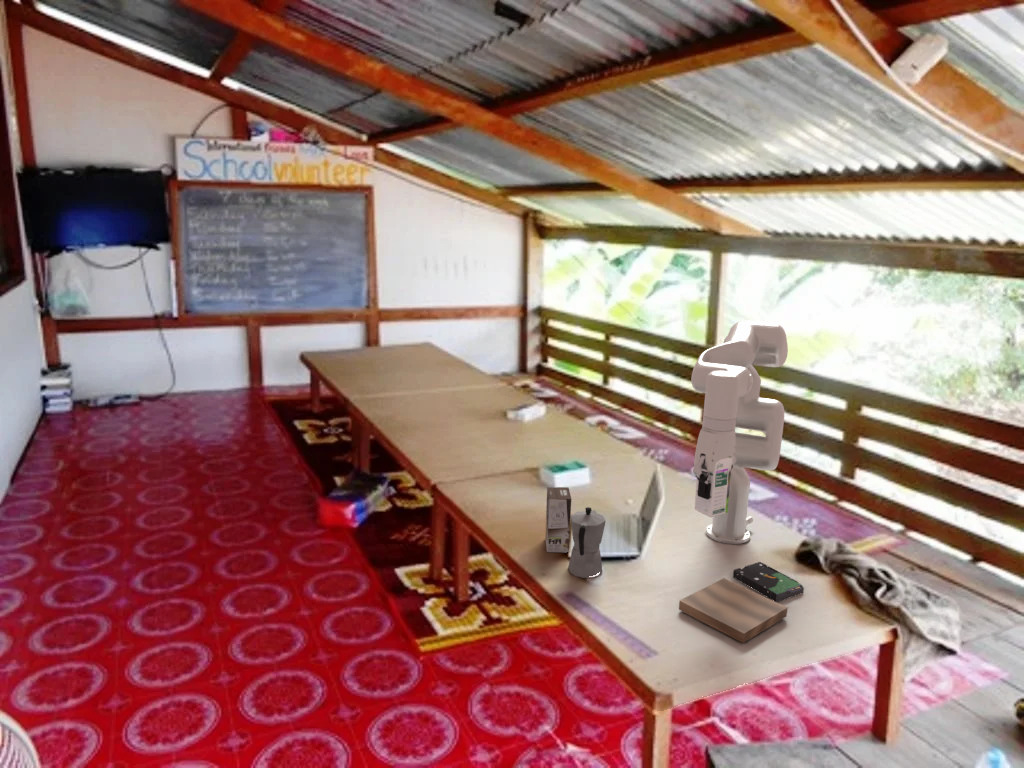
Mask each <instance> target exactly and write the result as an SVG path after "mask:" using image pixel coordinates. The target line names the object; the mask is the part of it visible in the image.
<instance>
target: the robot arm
mask: <svg viewBox="0 0 1024 768" xmlns="http://www.w3.org/2000/svg"><path fill="white" fill-rule="evenodd" d="M788 348H789V347H788V339H787V334H786V331H785V328H783V326H781V325H780V324H778V323H774V322H765V321H754V320H753V321H752V320H743V321H738V322H736V323H734V324H733V325H732V326H731V328H729V332H728V334H727V336H725V338H724V340H723V343H721V344H719V345H715V346H713V347H710V348H708V349H706V350H704V351H703V352H702V353H701V354H700V355H699V356H698V358H697V360H696V362H695V365H694V367H693V370H692V372H691V385H692V389H693V390H695V391H696V392H699V393H702V394H704V404H703V405H704V406H703V414H702V415H703V416H702V427H701V428H700V431H699V434H698V438H697V441H696V447H695V452H694V454H695V455H694V463H693V464H694V465H693V466H694V467H693V469H692V473H693V474H694V476H695V477H696V481H697V480H698V481H699V483H698V496H699V497H702V498H704V499H709V498H710V490H711V484H710V483H709V482H710V479H711V474H712V472H714V468H715V464H716V462H718V461H719V460H721V459H724V458H727V457H730V456H731V457H732V466H731V478H730V490H729V502H728V513H725V514H721V515H717V516H713V517H712V523H711V524H709V525H707V526H706V529H705V533H706V535H707V537H709V538H710V539H712V540H714V541H716V542H719V543H722V544H729V545H741V544H744V543H747V542H749V541H750V540H751V533H750V531H749V530H748V529H747V526H748V525H750V524H752V523H753V522H754V519H753V518H752V516H748V517H747V515H748V507H749V498H750V488H751V480H750V476H749V474H748V473H747V471H746V469H752V470H753V469H754V470H759V471H767V472H771V471H774V470H776V468H777V467H778V465H779V461H780V456H781V450H782V449H781V447H782V440H783V433H784V423H785V407H784V405H783V403H782V402H781V401H780V400H777V399H774V398H773V399H772V398H767V397H766V398H765V397H761V396H760V393H761V385H762V379H761V377H760V375H759V373H758V371H757V370H756V368H755V367H754V366H758V367H769V368H779V367H783V366H784V364H785V363H786V361H787V357H788V353H789V352H788V351H789V349H788ZM736 428H738V429H743V430H744V429H745V430H750V431H758V432H762V433H764V434H765V436H763V435H762V436H761V435H755V434H750V433H743V432H736ZM704 466H705V467H707V470H706V469H704ZM704 472H707V476H706V477H705V475H704Z"/></svg>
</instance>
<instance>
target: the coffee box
mask: <svg viewBox="0 0 1024 768" xmlns="http://www.w3.org/2000/svg"><path fill="white" fill-rule="evenodd" d="M572 500H573V499H572V496H571V492H570V488H569V487H567V486H565V487H561V486H560V487H558V486H556V487H547V488H546V507H545V508H546V510H545V512H546V513H545V515H546V516H545V546H546V553H564V554H568V553H569V552H570V551H569V550H570V549H569V548H570V529H571V517H570V516H571V515H572V514H571V513H572V512H571V511H572V510H571V509H572ZM568 551H569V552H568ZM567 552H568V553H567Z"/></svg>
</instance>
